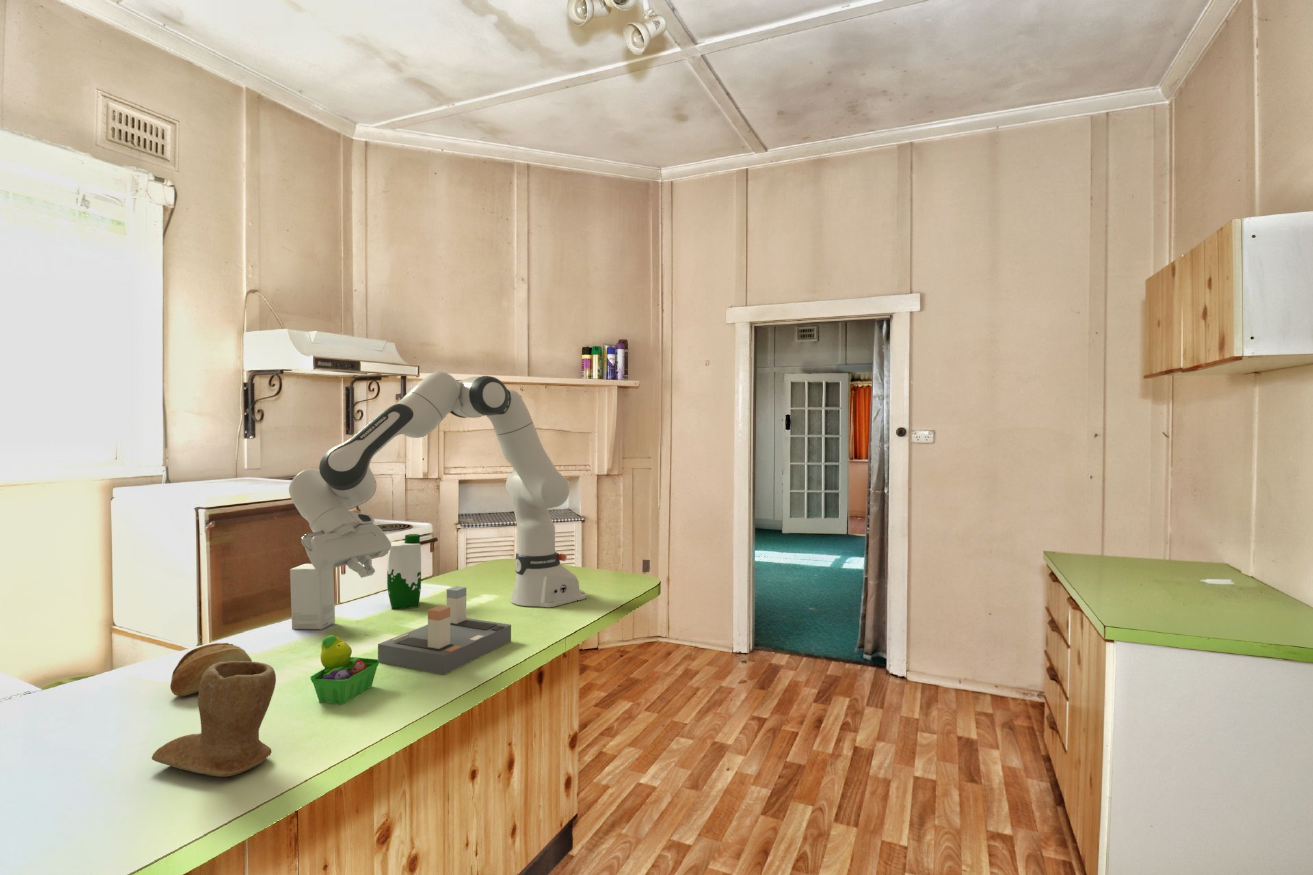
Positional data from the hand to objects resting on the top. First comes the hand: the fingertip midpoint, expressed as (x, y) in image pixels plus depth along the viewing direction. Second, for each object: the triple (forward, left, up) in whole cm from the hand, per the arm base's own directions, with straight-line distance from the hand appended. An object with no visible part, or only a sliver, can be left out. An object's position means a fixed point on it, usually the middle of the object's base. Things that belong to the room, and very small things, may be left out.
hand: (368, 574), depth 153 cm
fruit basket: (+10, +21, -18) cm, 30 cm away
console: (-15, +9, -18) cm, 25 cm away
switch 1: (-10, +17, -13) cm, 24 cm away
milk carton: (-19, -36, -18) cm, 44 cm away
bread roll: (+30, +3, -18) cm, 35 cm away
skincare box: (+6, -29, -18) cm, 34 cm away
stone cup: (+31, +38, -18) cm, 53 cm away
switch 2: (-20, +2, -13) cm, 24 cm away
